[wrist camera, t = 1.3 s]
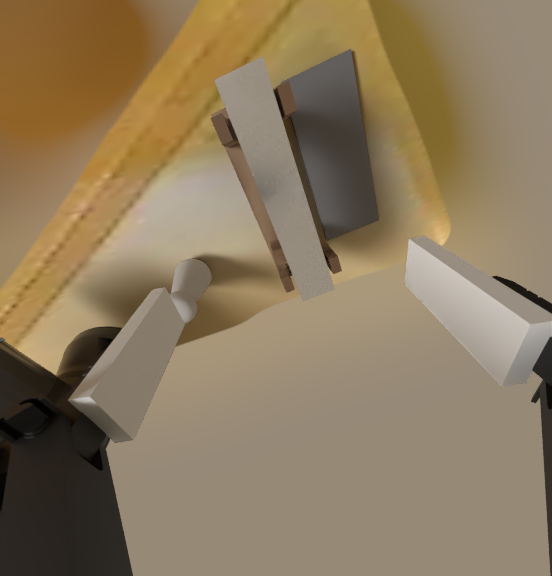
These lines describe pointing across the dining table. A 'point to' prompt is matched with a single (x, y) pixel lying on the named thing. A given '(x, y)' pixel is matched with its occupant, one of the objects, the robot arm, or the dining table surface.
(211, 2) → the dining table surface
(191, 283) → the salt shaker
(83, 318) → the dining table surface
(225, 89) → the metal rail
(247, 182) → the bracket stand
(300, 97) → the rubber mat
